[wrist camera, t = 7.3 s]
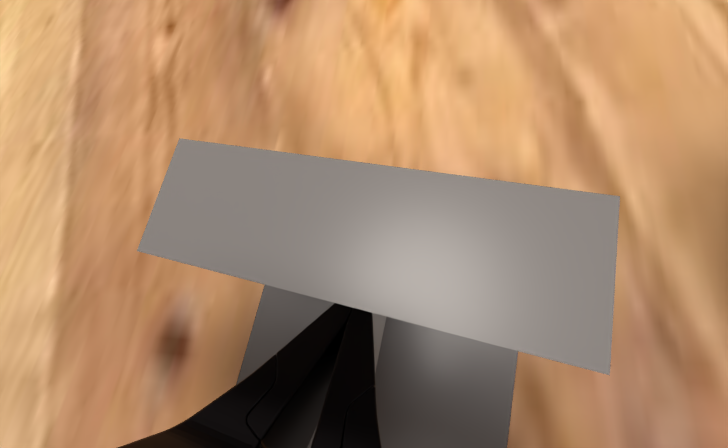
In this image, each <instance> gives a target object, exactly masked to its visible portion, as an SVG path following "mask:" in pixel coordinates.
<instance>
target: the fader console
mask: <svg viewBox="0 0 728 448" xmlns="http://www.w3.org/2000/svg"><path fill="white" fill-rule="evenodd" d="M333 304H334V303H333V302H329V301H326V300H322V299H318V298H314V297H310V296H307V295H303V294H299V293H295V292H291V291H288V290H284V289H280V288H276V287H272V286H269V285H265V286H264V289H263V293H262V296H261V300H260V303H259V307H258V310H257V314H256V317H255V321H254V324H253V328H252V331H251V335H250V338H249V342H248V345H247V349H246V352H245V356H244V359H243V363H242V366H241V370H240V373H239V377H238V380H237V384H238V383H240V382H241V381H242V380H244V379H245V378H246V377H248V376H249V375H250V374H252V373H253V372H254V371H255V370H257V369H258V368H259V367H260V366H261V365H263V364H264V363H265V362H266V361H268V360H269V359H270V358H271V357H272V356H273V355H275V354H276V353H277V352H278V351H279V350H280V349H282V348H283V347H284V346H285V345H286V344H287V343H289V342H290V341H291V340H292V339H293V338H294V337H296V336H297V335H298V334H299V333H300V332H301V331H303V330H304V329H305V328H306V327H307V326H308V325H310V324H311V323H312V322H313V321H314V320H315V319H317V318H318V317H319V316H320V315H321V314H322V313H324V312H325V311H326V310H327V309H328V308H329V307H331V306H332V305H333ZM373 333H374V357H375V381H376V401H377V414H378V424H379V431H380V439H381V445H382V448H507V442H508V434H509V425H510V416H511V408H512V399H513V390H514V382H515V373H516V364H517V356H518V351H516V350H512V349H508V348H504V347H501V346H497V345H493V344H489V343H485V342H482V341H478V340H474V339H470V338H466V337H463V336H459V335H455V334H451V333H447V332H444V331H440V330H436V329H432V328H428V327H425V326H421V325H417V324H413V323H409V322H406V321H402V320H398V319H394V318H390V317H386V316H383V315H379V314H375V313H373ZM237 384H236V385H237ZM316 428H317V426H316ZM315 431H316V429H315ZM315 431H314V433H313V436H312V438H311V440H310V443H309V445H308V447H307V448H311V445H312V442H313V438H314V435H315Z"/></svg>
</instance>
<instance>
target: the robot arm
mask: <svg viewBox="0 0 728 448" xmlns="http://www.w3.org/2000/svg"><path fill="white" fill-rule="evenodd" d="M316 426H317V428H316ZM315 429H316V431H315ZM314 431H315V435H314V438H313V442H312V445H311V448H382V445H381V439H380V431H379V424H378V414H377V401H376V381H375V357H374V333H373V313H371V312H367V311H364V310H360V309H356V308H352V307H348V306H345V305H341V304H337V303H334V304H333V305H332V306H331V307H329V308H328V309H327V310H326V311H325V312H324V313H322V314H321V315H320V316H319V317H318V318H317V319H315V320H314V321H313V322H312V323H311V324H310V325H308V326H307V327H306V328H305V329H304V330H303V331H301V332H300V333H299V334H298V335H297V336H296V337H294V338H293V339H292V340H291V341H290V342H289V343H287V344H286V345H285V346H284V347H283V348H282V349H280V350H279V351H278V352H277V353H276V354H275V355H273V356H272V357H271V358H270V359H269V360H268V361H266V362H265V363H264V364H263V365H261V366H260V367H259V368H258V369H257V370H255V371H254V372H253V373H252V374H250V375H249V376H248V377H246V378H245V379H244V380H242V381H241V382H240V383H238V384H237V385H235V386H234V387H233V388H231V389H230V390H228V391H227V392H226V393H224V394H223V395H221V396H220V397H219V398H217V399H216V400H214V401H213V402H211V403H210V404H209V405H207V406H206V407H204V408H203V409H202V410H200V411H199V412H197V413H196V414H194V415H193V416H192V417H190V418H189V419H187V420H185V421H184V422H182V423H180V424H178V425H176V426H174V427H172V428H170V429H168V430H166V431H163V432H160V433H157V434H155V435H152V436H149V437H146V438H143V439H141V440H138V441H135V442H132V443H129V444H127V445H124V446H121V447H118V448H307V447H308V445H309V443H310V440H311V438H312V436H313V433H314Z"/></svg>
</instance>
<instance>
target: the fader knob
mask: <svg viewBox="0 0 728 448" xmlns="http://www.w3.org/2000/svg"><path fill="white" fill-rule="evenodd" d="M619 203H620V196H613V195H605V194H598V193H590V192H582V191H575V190H567V189H560V188H552V187H544V186H537V185H529V184H522V183H514V182H506V181H499V180H491V179H484V178H476V177H468V176H461V175H453V174H446V173H438V172H430V171H423V170H415V169H408V168H400V167H392V166H385V165H377V164H370V163H362V162H354V161H347V160H339V159H332V158H324V157H316V156H309V155H301V154H294V153H286V152H278V151H271V150H263V149H256V148H248V147H240V146H233V145H225V144H218V143H210V142H202V141H195V140H187V139H180V138H179V141H178V144H177V146H176V149H175V152H174V154H173V157H172V160H171V162H170V165H169V168H168V170H167V173H166V176H165V178H164V181H163V183H162V186H161V189H160V191H159V194H158V197H157V199H156V202H155V205H154V207H153V210H152V213H151V215H150V218H149V221H148V223H147V226H146V228H145V231H144V234H143V236H142V239H141V242H140V244H139V247H138V250H137V251H139V252H143V253H147V254H151V255H154V256H158V257H162V258H166V259H170V260H173V261H177V262H181V263H185V264H189V265H192V266H196V267H200V268H204V269H208V270H212V271H215V272H219V273H223V274H227V275H231V276H234V277H238V278H242V279H246V280H250V281H253V282H257V283H261V284H265V285H269V286H272V287H276V288H280V289H284V290H288V291H291V292H295V293H299V294H303V295H307V296H310V297H314V298H318V299H322V300H326V301H329V302H333V303H337V304H341V305H345V306H348V307H352V308H356V309H360V310H364V311H367V312H371V313H375V314H379V315H383V316H386V317H390V318H394V319H398V320H402V321H406V322H409V323H413V324H417V325H421V326H425V327H428V328H432V329H436V330H440V331H444V332H447V333H451V334H455V335H459V336H463V337H466V338H470V339H474V340H478V341H482V342H485V343H489V344H493V345H497V346H501V347H504V348H508V349H512V350H516V351H520V352H523V353H527V354H531V355H535V356H539V357H542V358H546V359H550V360H554V361H558V362H561V363H565V364H569V365H573V366H577V367H580V368H584V369H588V370H592V371H596V372H599V373H603V374H607V375H610V362H611V344H612V326H613V309H614V291H615V273H616V256H617V238H618V220H619Z"/></svg>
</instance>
